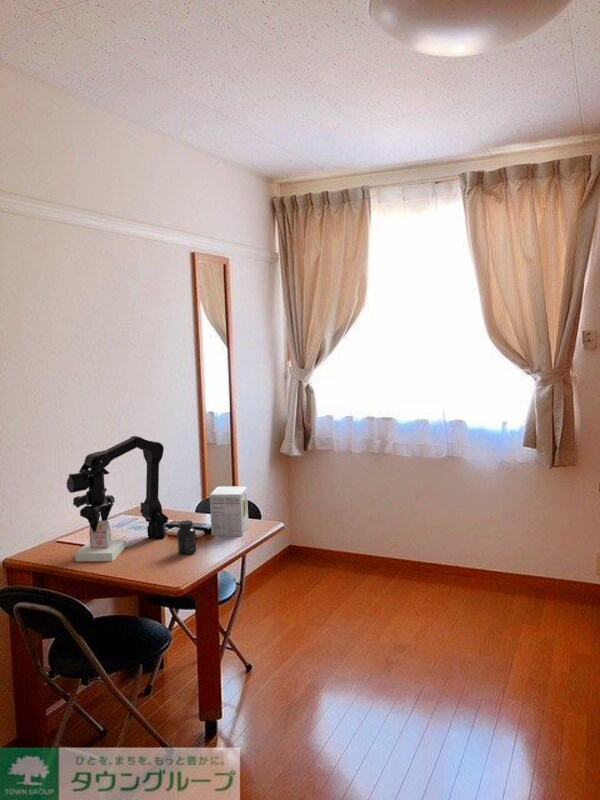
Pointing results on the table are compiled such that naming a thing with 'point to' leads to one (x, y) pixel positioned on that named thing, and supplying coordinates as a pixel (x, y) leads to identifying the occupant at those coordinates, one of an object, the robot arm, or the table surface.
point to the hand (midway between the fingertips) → (99, 527)
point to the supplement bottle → (186, 538)
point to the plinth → (100, 552)
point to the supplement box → (229, 511)
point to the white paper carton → (101, 536)
